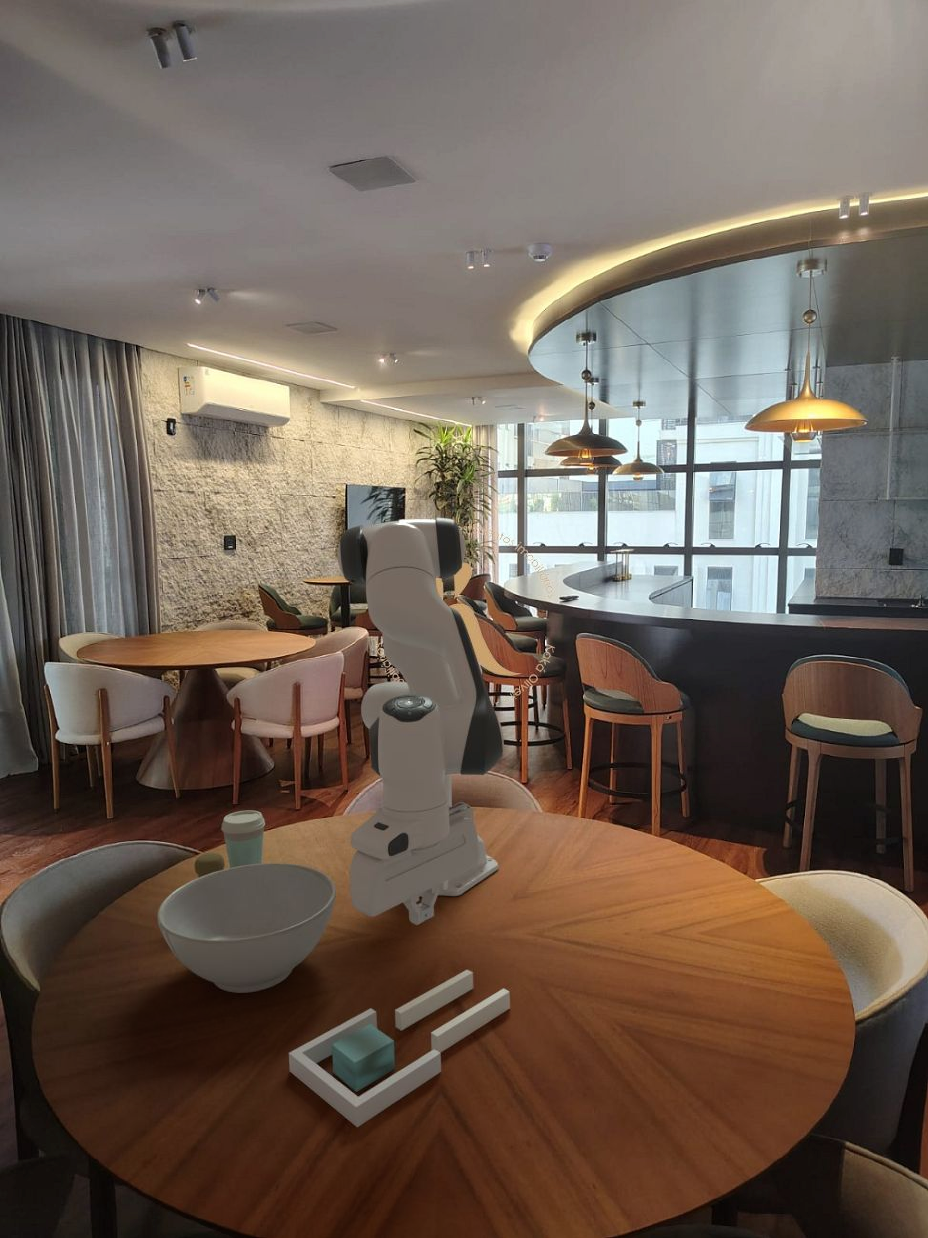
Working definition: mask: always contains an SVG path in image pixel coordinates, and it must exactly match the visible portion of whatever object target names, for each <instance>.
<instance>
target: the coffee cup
mask: <svg viewBox="0 0 928 1238" xmlns="http://www.w3.org/2000/svg"><path fill="white" fill-rule="evenodd" d="M265 825H266V822H265V818H264V816H263V814H262V813H261V812H260V811H257V810H252V809H251V810H239V811H238V810H237V811H234V812H232V813H229V814H227V815H225V816H224V818H223V821H222V823H221V828H220V829H221V831H222V833H223V838H224V843H225V847H226V853H227V858H228V863H229V868H233V867H238V866H244V865H251V864H262V863H263V862H262V861H263V846H264V845H263V844H264V831H265V829H264V827H265Z"/></svg>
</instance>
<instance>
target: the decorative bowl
mask: <svg viewBox="0 0 928 1238" xmlns="http://www.w3.org/2000/svg"><path fill="white" fill-rule="evenodd" d="M336 888H337V887H336V884H335V883H334V880H332V878H331V877H330V876H328V875H327V874H326V873H325V872H323V871H320V870H318V869H316V868H314V867H309V866H306V865H302V864H294V863H285V862H267V863H266V862H265V863H263V862H262V864H251V865H244V866H238V867H233V868H230V867H229V868H224V869H223V870H220V871H217V872H213V873H210V874H207V875H205V876H202V877H199V878H198V877H196V878H195V879H192V880H191V881H188V882H187V883H185V884H183V885H181V886H180V887H178V888H177V889H175V890H174V891H172V892H171V893H170V894H169V895H167V896H166V898H165V899H164V900H163V902H161V904H160V906H159V908H158V911H157V923H158V926H159V929H160V932H161V933H162V936H163V938H164V940H165V942H166V944H167V945H168V947H169V949H170V950H171V952H172V953H173V954H174V956H175V957H176V958H177V959H178V960H179V961H180V963H181V964H183V965H184V966H185V967H186V968H187V969H188V970H190V971H191V972H192V973H193V974H195V975H197V976H198V977H200V978H202V979H203V980H205V981H206V980H207V981H208V982H212V983H213V984H214V985H215V986H216V987H217V988H219V989H221V990H222V991H225V992H230V993H239V994H242V993H243V994H245V993H254V992H260V991H264V990H266V989H269V988H271V987H274V986H276V985H278V984H280V983H281V982H282V981H284V980H286V979H287V978H288V977H289V975H290V974H291V973H292V972H293V969H294V968H295V967H297V966H298V965H299V964H301V963H302V962H303V961H304V960H305V959H306V958H307V957H308V956H309V955H310V953H311V952H312V951H314V949H315V947H316V946H317V944H318V943H319V942H320V940H321V938H322V936H323V934H324V933H325V932H326V929H327V927H328V925H329V922H330V919H331V916H332V913H333V910H334V907H335V902H336V898H337V889H336Z"/></svg>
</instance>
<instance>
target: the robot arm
mask: <svg viewBox="0 0 928 1238" xmlns="http://www.w3.org/2000/svg"><path fill="white" fill-rule="evenodd" d="M460 529H461V528H460V527H459V524H458V523H457V522H456V521H455V520H454V519H452V518H446V517H438V516H437V517H435V518H434V519H433V518H403V519H402V518H401V519H398V520H392V521H388V522H387V521H386V522H381V523H375V524H374V523H373V524H371V525H370V524H369V525H365V526H363V525H361V524H360V525H356V526H353V527H351V528H348V529H346V530H345V531H344V532H343V534H342V535H341V536H340V541H339V543H338V547H337V553H336V555H337V556H336V557H337V558H336V559H337V563H338V566H339V569H340V571H341V573H342V574H343V577H344V579H345V580H346V582H349V583H350V585H353V586H358V587H365V594H366V605H367V608H368V609H367V610H368V615H369V618H370V620H371V622H372V624H373V625H374V626H375V627H376V628H377V630H379V631H380V632H381V634H382V645H383V653H384V656H385V658H386V660H387V661H388V662H389V663H390V665H392V666H393V667H394V668H396V669H397V670H398V671H399V673H400V674H401V675H402V677H403V679H404V680H405V681H399V680H398V681H396V680H395V681H386V682H381V683H376V684H373V685H372V686H371V687H369V689H367V691H366V692H365V694H364V696H363V698H362V701H361V706H360V708H361V709H360V710H361V711H360V712H361V713H360V714H361V718H362V721H363V723H364V725H365V726H366V728H367V729H368V740H369V741H368V742H369V748H370V749H369V750H370V764H371V766H370V768H371V769H372V770H373V771H374V772H375V773H376V775H378V776H379V777H380V778H381V780H382V792H381V795H380V807H379V809H377V810H376V811H375V813H374V814H373V815H371V816H370V817H369V818H368V819H367V820H365V821H364V822H363V823H362V824H361V825H360V826H359V827H357V828H356V829H354V830H353V832H352V833H351V834H350V845H351V847H352V848H353V849H355V850H356V851H355V852H354V854H353V856H352V858H351V861H350V867H349V869H350V870H349V889H350V902H351V904H352V906H353V908H355V909H356V910H357V911H358V912H360V913H362V914H363V915H365V916H368V917H370V918H374V917H377V916H378V915H381V914H382V913H384V912H386V911H388V910H390V909H392V908H394V907H396V906H398V905H400V904H403V905H404V906H405V907H406V909H407V910H408V918H409V922H411V924H413V925H416V926H418V925H419V924H422V923H423V922H426V921H428V920H429V919H431V918H433V917H434V916H435V909H434V908H435V907H434V906H435V904H436V901H437V898H438V896H448V897H458V896H460V895H462V894H464V893H465V892H466V891H468V890H469V889H471V888H472V887H474V886H476V884H479V883H480V882H481V881H483V880H484V879H486V878H487V877H489V876H490V875H492V874H494V873H495V872H496V871H497V870H499V863H498V862H497V860H495V858H493V857H491V856H489V855H487V851H486V846H485V842H484V840H483V839H482V838H481V836H479V835H478V832H477V827H476V824H475V822H474V821H475V820H474V809H473V808H472V807H471V805H470V804H468V803H466V802H463V801H461V802H457V803H455V804H454V805H453V804H452V803H453V802H452V775H463V776H465V775H466V776H485V775H486V774H487V773H489V771H490V770H492V769H493V768H494V767H495V766H496V764H498V763H499V761H500V760H501V758H502V757H503V754H504V745H505V743H504V740H505V739H504V733H503V729H502V728H503V727H502V724H501V722H500V720H499V717H498V715H497V714H496V711H495V708H494V706H493V703H492V701H491V698H490V696H489V693H488V692H489V691H488V690H487V687H486V683H485V680H484V677H483V674H482V671H481V668H480V665H479V661H478V658H477V655H476V652H475V649H474V645H473V642H472V640H471V637H470V634H469V631H468V628H467V626H466V623H465V621H464V618H463V616H462V615H461V613H460V612H459V610H457V609H456V608H453V607H451V606H449V605H448V604H447V603H446V602H445V600H443V598H442V597H441V595H440V593H439V591H438V588H437V587H438V586H437V580H436V579H437V578H438V579H441V583H443V582H446V579H448V578H451V577H453V576H455V575H457V574H458V573H459V572H460V570H461V569H462V567H463V563H464V561H465V558H466V551H467V549H466V548H467V547H466V546H467V545H466V541H465V537H464V535H463V532H462V530H460ZM420 897H421V901H420ZM419 901H420V902H419ZM418 902H419V903H418ZM417 903H418V904H417Z"/></svg>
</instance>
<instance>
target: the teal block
mask: <svg viewBox="0 0 928 1238" xmlns="http://www.w3.org/2000/svg"><path fill="white" fill-rule="evenodd" d="M331 1056H332V1072H333V1074H334V1075H336V1076H337V1078H339V1079H340V1080H342V1081H343V1082H344V1083H345V1084H346V1085H348V1086H349V1087H350V1088H351V1089H352V1090H353V1091H355V1093H357V1092H359V1091H361V1090H362V1089H364V1088H365V1087H367V1086H369V1085H370V1084H373V1083H374V1082H376V1081H377V1080H379V1079H380V1078H382V1077H384V1076H385V1075H387V1074H388V1073H390V1072H392V1071H393V1070H395V1069H396V1065H395V1064H396V1063H395V1062H396V1061H395V1040H393V1039H392V1038H390V1036H388V1035H386V1034H385V1033H384V1032H382V1031H381V1030H379V1029H378V1027H377V1028H375V1027H374V1026H373V1025H371V1024H369V1025H367V1026H366V1027H364V1028H362V1029H360V1030H358V1031H356V1032H354V1033H352V1034H351V1035H349V1036H347V1037H345V1038H343V1039H341V1040H339V1041H337V1042H336V1043H334V1044H332V1055H331Z"/></svg>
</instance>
